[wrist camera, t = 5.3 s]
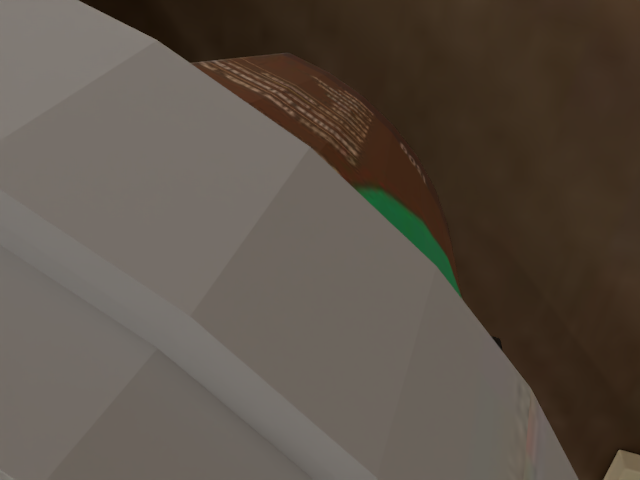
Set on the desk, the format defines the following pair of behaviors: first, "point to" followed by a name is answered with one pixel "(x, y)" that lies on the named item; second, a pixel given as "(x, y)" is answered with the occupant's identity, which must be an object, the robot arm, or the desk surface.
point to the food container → (229, 276)
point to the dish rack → (624, 467)
